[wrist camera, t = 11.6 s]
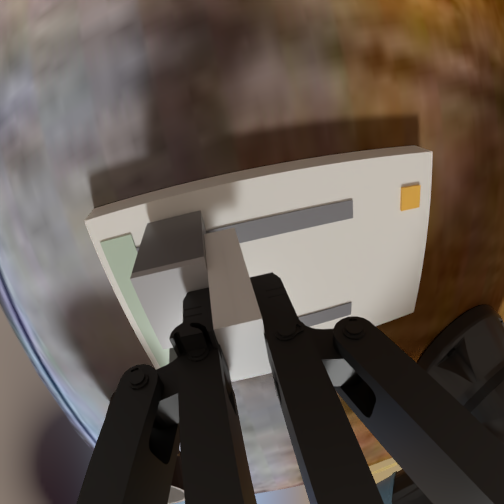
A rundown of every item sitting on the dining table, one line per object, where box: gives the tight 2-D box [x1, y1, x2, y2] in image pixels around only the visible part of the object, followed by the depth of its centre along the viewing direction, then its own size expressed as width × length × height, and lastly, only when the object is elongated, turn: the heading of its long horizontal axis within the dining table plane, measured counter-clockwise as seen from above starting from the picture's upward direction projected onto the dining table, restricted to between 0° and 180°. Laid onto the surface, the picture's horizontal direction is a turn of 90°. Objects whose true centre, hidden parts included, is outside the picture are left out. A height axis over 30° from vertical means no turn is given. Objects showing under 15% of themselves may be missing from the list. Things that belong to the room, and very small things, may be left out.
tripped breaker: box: [130, 210, 209, 349], centre depth 15 cm, size 3×4×5 cm
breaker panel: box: [84, 145, 432, 369], centre depth 20 cm, size 22×14×2 cm, turn 99°
